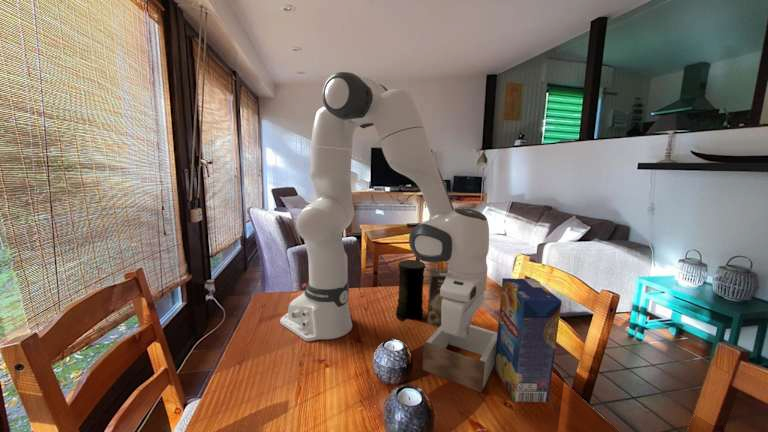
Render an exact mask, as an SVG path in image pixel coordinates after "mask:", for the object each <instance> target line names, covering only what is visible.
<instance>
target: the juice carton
mask: <svg viewBox="0 0 768 432" xmlns="http://www.w3.org/2000/svg"><path fill="white" fill-rule="evenodd" d="M562 302H563V301H562V300H561V299H560V298H559V297H558V296H556V295H555V294H554V293H552V292H551V291H550V290H549V289H548V288H547V287H546V286H544V285H542V283H540V282H539V281H538V280H537V279H535V278H508V277H505V278H504V277H502V283H501V291H500V301H499V303H500V304H499V313H498V322H497V323H498V324H497V331H496V332H497V342H496V352H495V362H494V367H493V368H494V369H495V371H496V373H497V374H498V376H499V378H500V380H501V382H502V384H503V386H504V387H505V389H506V392H507V393H508V395H509V397H510V398H511V400H512V402H517V403H518V402H522V403H530V402H531V403H549V399H550V391H551V383H552V376H553V367H554V362H555V361H554V360H555V354H556V353H555V352H556V347H557V338H558V330H559V322H560V315H561V309H562V308H561V307H562Z"/></svg>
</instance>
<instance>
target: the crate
mask: <svg viewBox="0 0 768 432" xmlns="http://www.w3.org/2000/svg"><path fill="white" fill-rule="evenodd" d="M425 342H427V343H430V344H433V345H436V346H438V347H441V348H444V349H447V347H448V345H449V346H454V347H457V348H459V349H461V350H462V349H463V350H466V351H468V352H471V353H474V354H478V355H480V356H481V357H480V359H479V361H482V362H485V367H484V378H483V389H485V385H486V383H487V382H488V379H489V377H490V375H491V373H492V371H493V369H494V368H495V367H494V362H495V352H496V342H497V331H493V330H489V329H486V328H483V327H480V326H476V325H473V324H470V330H469V333H468V335H467V336H466V338H461V337H459V336H454V335H450V334H447V333H445V332H444V331H443V329H442V325H441V326H440V325H439V327H438V328H437V329H436V330H435V331H434V332H433V333H432V334H431V335H430V337H428V339H427V340H426V341H425Z"/></svg>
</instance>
